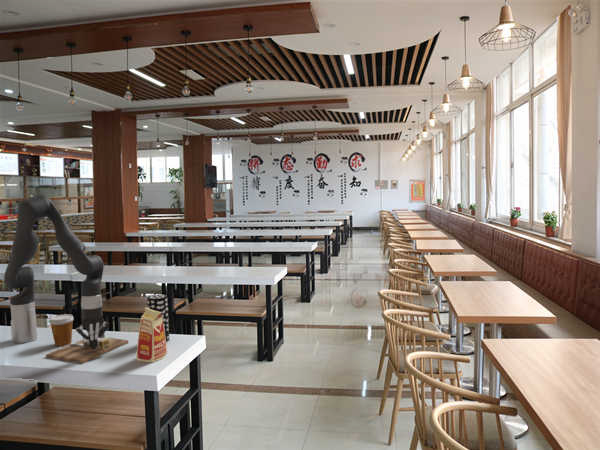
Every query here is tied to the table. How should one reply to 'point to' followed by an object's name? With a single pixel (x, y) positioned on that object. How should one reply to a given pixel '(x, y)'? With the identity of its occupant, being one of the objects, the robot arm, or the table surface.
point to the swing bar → (102, 343)
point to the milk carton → (151, 337)
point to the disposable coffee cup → (62, 329)
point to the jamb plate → (84, 350)
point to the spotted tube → (160, 309)
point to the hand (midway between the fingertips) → (93, 348)
